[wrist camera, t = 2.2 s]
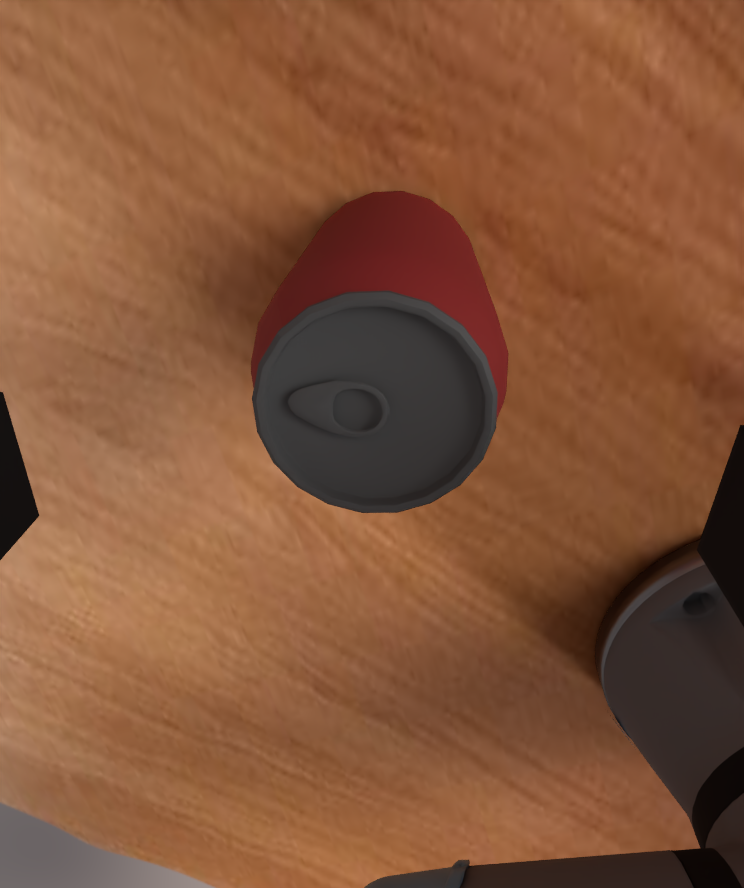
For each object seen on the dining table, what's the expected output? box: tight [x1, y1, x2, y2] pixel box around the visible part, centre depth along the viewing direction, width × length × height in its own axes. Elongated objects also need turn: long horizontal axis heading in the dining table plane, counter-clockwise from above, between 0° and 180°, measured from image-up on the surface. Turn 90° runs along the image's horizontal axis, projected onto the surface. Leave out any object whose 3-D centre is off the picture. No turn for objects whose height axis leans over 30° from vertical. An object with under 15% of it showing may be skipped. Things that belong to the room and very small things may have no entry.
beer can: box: [251, 191, 508, 513], centre depth 19 cm, size 7×7×12 cm
